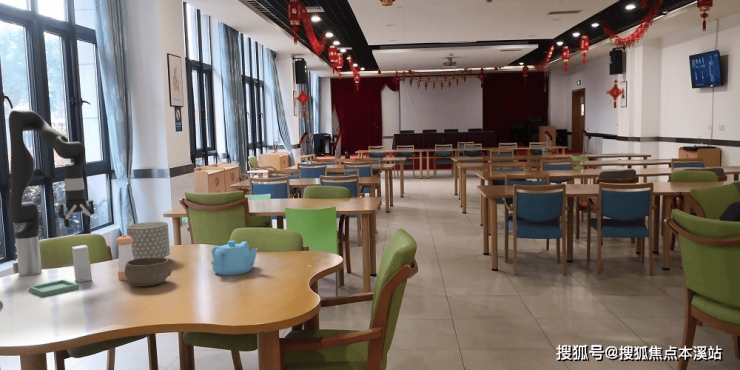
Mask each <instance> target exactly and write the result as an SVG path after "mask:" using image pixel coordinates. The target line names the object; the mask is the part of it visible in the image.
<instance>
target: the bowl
mask: <svg viewBox="0 0 740 370" xmlns="http://www.w3.org/2000/svg"><path fill="white" fill-rule="evenodd" d="M171 273H172V269H171V264H170V261H169V259H168V258H166V257H164V258H161V257H147V258H139V259H134V260H130V261H128V262H127V263H126V266H125V275H126V278H127V279H128V280H127V281H128V282H129V283H130V284H132V285H133V286H135V287H144V288H145V287H154V286H157V285H160V284H162V283H163V282H165V281H166V280H167V279H168V277H170V276H171V275H172V274H171Z"/></svg>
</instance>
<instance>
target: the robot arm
mask: <svg viewBox="0 0 740 370" xmlns="http://www.w3.org/2000/svg"><path fill="white" fill-rule="evenodd" d="M8 130H9V140H10V142H9V143H10V192H9V201H8V203H9V204H8V218H9V220H10V222H11V223H12V224H15V225H16V224H23V223H24V225H23V227H22V228H19V229H18V230H16V231H15V233H14V236H15V245H16V257H17V268H18V269H17V270H18V275H19V276H21V277H24V276H25V277H27V276H29V277H30V276H34V275H39V274H41V273H43V272H42V259H41V251H40V250H41V249H40V239H39V237H40V236H39V230H40V224H39V221H40V220H39V208H38V206H37V204H36V202H34V201H23V198H24V197H23V196H24V193H25V190H26V189H27V188H28V186H29V184H30V183H31V181H32V180H33V178H34V175H35V160H34V157H33V155H32V154H31V152H30V150H29V149H28V148H27V146H26V144H25V142H24V141H25V140H24V132H31V131H35V132H37V133H39V134H40V138H41V140H42V141H43V142H44V144H45V145H47V146H49V147H50V148H52V149H53V150H54V151H55V153H56V154H57V156H59V157H60V158H61V159H63V160H71V162H70V163H68V164H66V165H65V166H64V167H63V175H64V194H65V203H58V205H57V206H58V207H57V209H58V211H57V212H58V213H57V214H58V215H57V216H58V218H60V219H63V223H64V224H63V225H64V227H65V228H67V229H69V228H70V219H69V217H70V216H71V215H72V213H81V212H82V213H83V214H84V219H85V220H84V221H85V225H86V226H87V225H88V226H89V225H90V224H91V216H92V215H94V214H95V206H94V200H90V199H89V200H86V194H85V192H86V190H85V182H84V175H83V165H84V161H85V157H86V149H85V146H84V144H83V143H82V142H81V141H69V139H68V138H67V137H66V136H65V134H64V135H63V134H62V133H60V132H59V131H57V130H56V129H54V127H52V126H51V125H50V124H49V123H48V122H47V121H45V120H44V118H42V116H41V115H40V114H38V112H36V111H34V110H32V109H14V110H12V111H10V113H9V116H8ZM86 205H87V206H88V207H87V208H88V209H86ZM65 208H66V211H65V210H64V209H65ZM64 211H65V212H64Z"/></svg>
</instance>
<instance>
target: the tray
mask: <svg viewBox="0 0 740 370" xmlns="http://www.w3.org/2000/svg"><path fill="white" fill-rule="evenodd" d="M79 289H80V287H79V284H78V283H76V282H72V281H71V280H67V279H60V280H56V281H55V280H54V281H49V282H46V283H41V284H36V285H31V286H28V292H29V293H32V294H34V295H38V297H39V296H40V297H42V298H44V297H49V296H53V295H58V293H59V294H63V293H68V292H71V291H75V290H79Z"/></svg>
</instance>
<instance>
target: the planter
mask: <svg viewBox="0 0 740 370" xmlns="http://www.w3.org/2000/svg"><path fill="white" fill-rule="evenodd" d="M125 228H126V229H125V230H126V236H130V237H132V238H133V243H131V244H132V254H133V258H134V259H139V258H147V257H161V258H166V257H167V256H169V255H171V253H170V252H171V251H170V236H169V235H170V233H169V223H168V222H165V221H149V222H147V221H146V222H139V223H131V224H129V225H127V226H126V227H125Z"/></svg>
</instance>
